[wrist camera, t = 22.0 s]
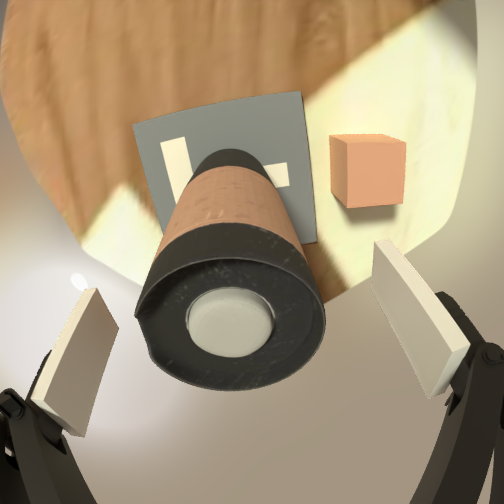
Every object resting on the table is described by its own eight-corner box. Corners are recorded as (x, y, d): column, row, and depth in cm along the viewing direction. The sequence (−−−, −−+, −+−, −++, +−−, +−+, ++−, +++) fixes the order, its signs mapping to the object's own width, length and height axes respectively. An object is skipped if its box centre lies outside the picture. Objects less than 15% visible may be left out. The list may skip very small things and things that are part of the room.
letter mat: (299, 90, 25) (300, 90, 24) (315, 238, 33) (316, 241, 32) (134, 124, 25) (132, 124, 24) (174, 263, 33) (173, 266, 32)
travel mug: (285, 181, 28) (365, 325, 11) (233, 233, 31) (239, 409, 14) (227, 128, 26) (216, 202, 8) (175, 188, 28) (101, 340, 11)
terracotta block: (381, 133, 27) (406, 142, 23) (380, 187, 30) (402, 203, 26) (328, 134, 27) (346, 142, 23) (330, 190, 30) (347, 208, 26)
